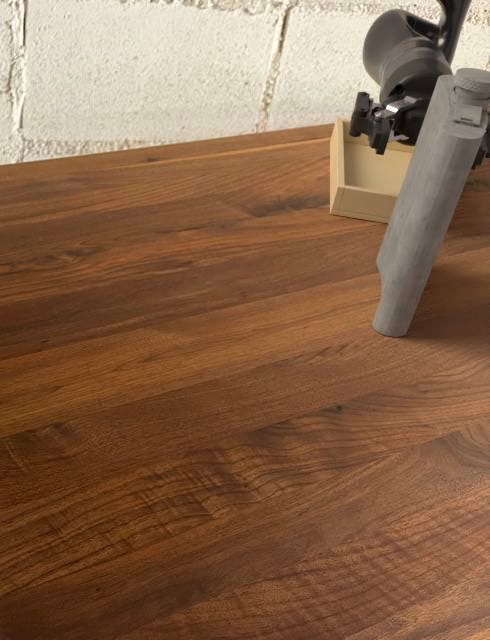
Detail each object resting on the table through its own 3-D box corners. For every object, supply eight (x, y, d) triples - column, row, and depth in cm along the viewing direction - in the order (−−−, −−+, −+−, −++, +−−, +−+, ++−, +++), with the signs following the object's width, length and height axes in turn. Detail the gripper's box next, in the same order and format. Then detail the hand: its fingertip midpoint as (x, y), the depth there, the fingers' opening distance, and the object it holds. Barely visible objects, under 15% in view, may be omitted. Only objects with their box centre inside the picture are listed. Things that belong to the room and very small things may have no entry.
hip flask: (376, 254, 91) (448, 41, 77) (415, 262, 91) (496, 49, 77) (371, 332, 80) (454, 99, 66) (416, 342, 80) (510, 109, 66)
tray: (421, 157, 112) (430, 131, 109) (436, 231, 96) (446, 204, 94) (329, 142, 113) (336, 117, 110) (329, 214, 97) (337, 186, 95)
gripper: (361, 46, 92) (365, 97, 81) (500, 67, 91) (524, 122, 80) (340, 121, 97) (341, 179, 86) (471, 142, 96) (490, 203, 85)
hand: (429, 151), depth 83 cm, fingers open, 8 cm apart
